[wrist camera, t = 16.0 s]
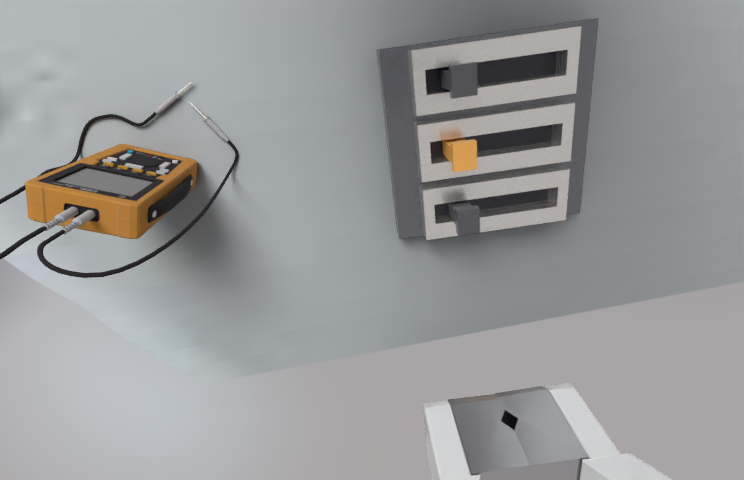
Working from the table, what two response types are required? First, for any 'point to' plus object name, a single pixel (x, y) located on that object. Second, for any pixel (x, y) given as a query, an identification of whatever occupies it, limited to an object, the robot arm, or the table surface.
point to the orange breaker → (461, 153)
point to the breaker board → (490, 127)
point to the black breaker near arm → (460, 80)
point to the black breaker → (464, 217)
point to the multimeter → (113, 192)
